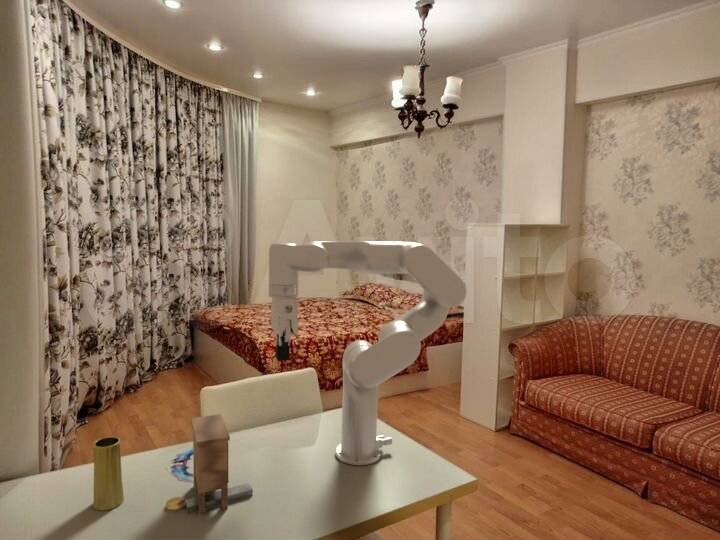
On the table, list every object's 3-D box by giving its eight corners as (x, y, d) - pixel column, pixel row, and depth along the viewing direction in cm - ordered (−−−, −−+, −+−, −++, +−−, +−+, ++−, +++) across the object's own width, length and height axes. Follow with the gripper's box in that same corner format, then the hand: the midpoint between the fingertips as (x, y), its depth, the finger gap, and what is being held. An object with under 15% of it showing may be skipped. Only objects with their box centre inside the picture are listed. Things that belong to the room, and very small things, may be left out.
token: (187, 501, 109) (187, 496, 109) (182, 512, 105) (182, 507, 105) (169, 501, 109) (169, 496, 109) (163, 512, 105) (163, 507, 105)
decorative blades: (173, 444, 134) (210, 443, 136) (173, 447, 134) (210, 445, 136) (154, 483, 115) (197, 480, 117) (154, 486, 115) (197, 484, 117)
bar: (248, 490, 115) (248, 482, 114) (252, 497, 112) (252, 489, 112) (184, 508, 107) (184, 500, 107) (187, 516, 105) (187, 507, 104)
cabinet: (221, 480, 118) (220, 414, 116) (229, 509, 106) (229, 436, 105) (191, 485, 115) (191, 418, 113) (197, 516, 104) (196, 442, 102)
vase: (102, 494, 111) (101, 434, 109) (129, 495, 111) (127, 436, 109) (87, 510, 105) (84, 447, 103) (114, 511, 105) (113, 449, 103)
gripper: (306, 294, 120) (305, 366, 122) (289, 285, 133) (288, 350, 135) (276, 295, 116) (275, 369, 119) (262, 286, 130) (262, 353, 132)
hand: (282, 359), depth 127 cm, fingers closed
